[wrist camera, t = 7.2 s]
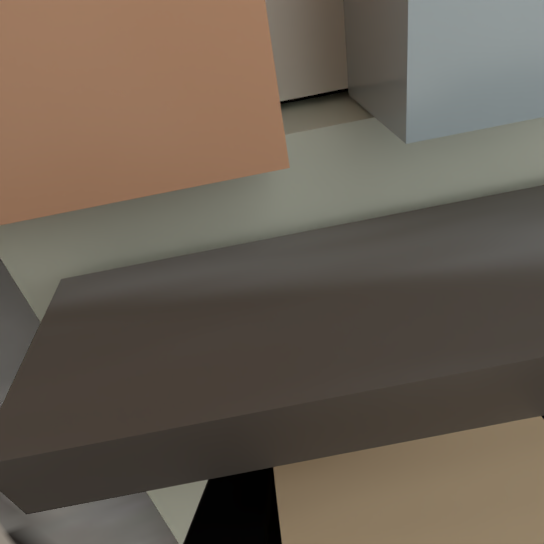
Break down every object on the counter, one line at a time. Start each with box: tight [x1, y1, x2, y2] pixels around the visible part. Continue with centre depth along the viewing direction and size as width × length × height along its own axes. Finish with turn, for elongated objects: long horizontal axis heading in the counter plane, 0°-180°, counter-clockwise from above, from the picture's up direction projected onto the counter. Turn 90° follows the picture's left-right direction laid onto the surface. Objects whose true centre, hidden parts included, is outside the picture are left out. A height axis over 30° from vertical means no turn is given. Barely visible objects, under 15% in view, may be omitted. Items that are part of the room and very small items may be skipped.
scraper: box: [0, 185, 544, 544], centre depth 7 cm, size 7×10×6 cm
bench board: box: [0, 91, 544, 544], centre depth 13 cm, size 18×12×2 cm, turn 9°
